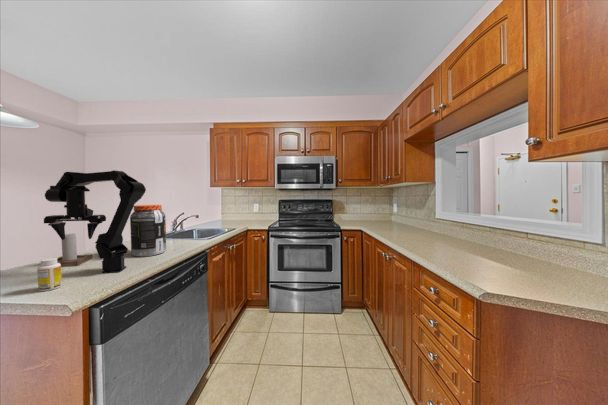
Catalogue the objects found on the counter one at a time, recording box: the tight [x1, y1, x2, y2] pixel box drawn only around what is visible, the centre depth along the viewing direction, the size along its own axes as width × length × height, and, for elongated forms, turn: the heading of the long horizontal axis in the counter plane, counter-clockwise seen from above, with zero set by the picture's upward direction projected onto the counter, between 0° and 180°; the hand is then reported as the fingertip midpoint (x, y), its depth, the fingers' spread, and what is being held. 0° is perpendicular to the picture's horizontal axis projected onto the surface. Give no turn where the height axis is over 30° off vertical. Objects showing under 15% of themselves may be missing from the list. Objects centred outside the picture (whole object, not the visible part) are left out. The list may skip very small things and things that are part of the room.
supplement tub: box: [129, 204, 167, 257], centre depth 128 cm, size 16×16×26 cm
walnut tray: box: [56, 254, 94, 268], centre depth 111 cm, size 12×12×2 cm
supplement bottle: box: [36, 257, 63, 292], centre depth 82 cm, size 6×6×10 cm
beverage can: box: [61, 233, 78, 261], centre depth 111 cm, size 5×5×12 cm
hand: (77, 239), depth 101 cm, fingers open, 9 cm apart
